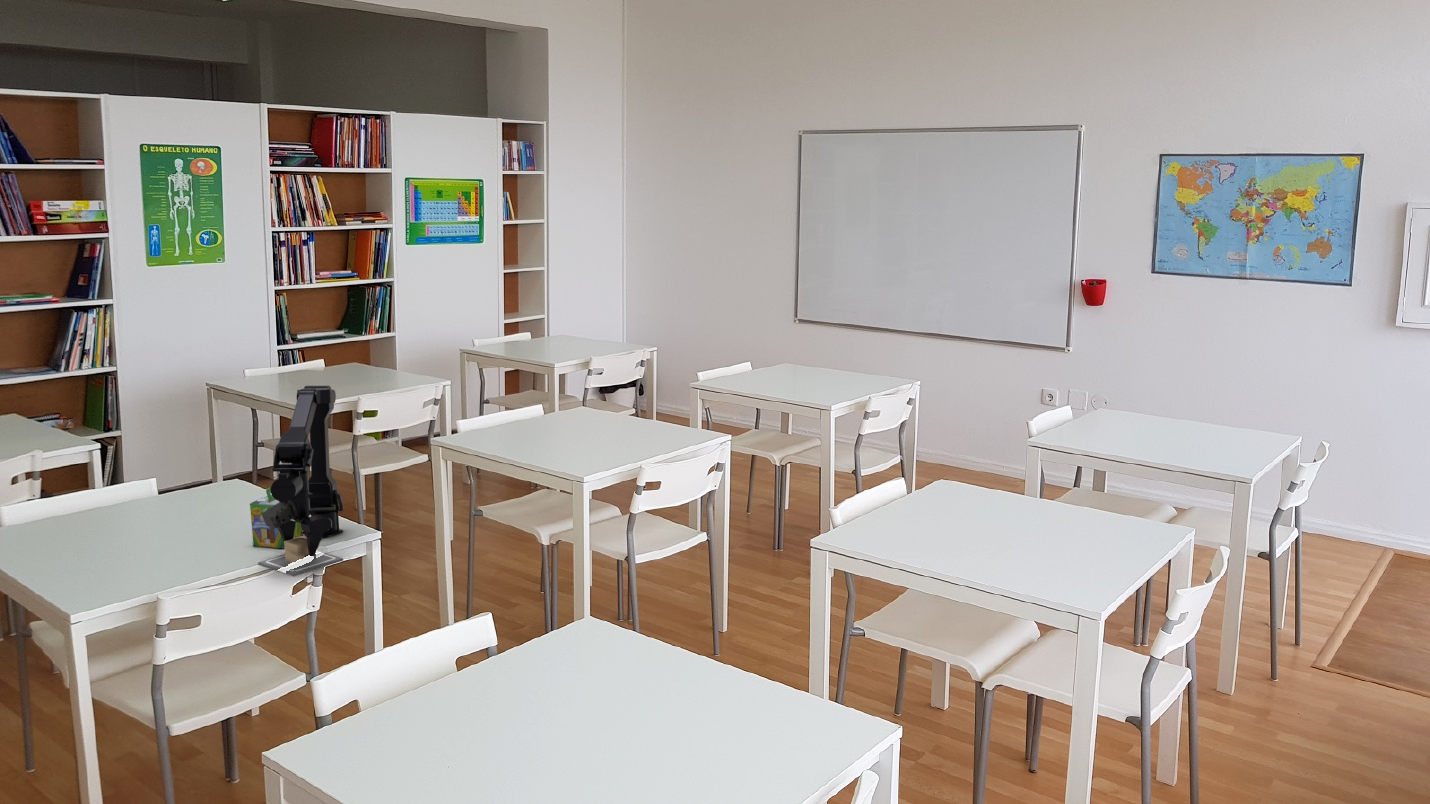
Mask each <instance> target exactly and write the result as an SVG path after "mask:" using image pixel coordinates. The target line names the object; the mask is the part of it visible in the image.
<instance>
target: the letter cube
mask: <svg viewBox="0 0 1430 804" xmlns="http://www.w3.org/2000/svg"><path fill="white" fill-rule="evenodd" d="M284 547H285V548H284V554H285V561H287V562H290V563H292V562H296V561H297V560H299V559H303V558H304V557H306V556H308V555H309V551H308V545H307V539H306V536H304V535H303V536H301V537H297V538H294V539H290V540H287V541H284ZM313 560H316V554H315V555H314V559H313Z"/></svg>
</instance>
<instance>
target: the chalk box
mask: <svg viewBox="0 0 1430 804" xmlns="http://www.w3.org/2000/svg"><path fill="white" fill-rule="evenodd" d="M265 492H266V496H263V497H261V498H259V499H257V500H254V501H252V502H250V503H249V507H250V519H251V520H250V521H251V532H252V533H251V534H252V546H253V547H261V548H262V547H263V548H274V549H283V550H284V549H285V547H284V541H283V539H282V537H281V534H280V532H279V530H278V528H273V527H271V526H266V523H265V521H264V519H263V517H262V513H263V512H265V511H266V510H267V509H268V508H271V507H272V506H274V505H276V504H278V503H279V501H277V500H276V499H274V497H273V496H272V494H271V487H268V488H266V489H265ZM302 531H303V530H302V528H301V523H299V522H296V525H295V531H294V537H293V539H294V538H297V537H301V536H303V537H304V534H302V533H301V532H302Z"/></svg>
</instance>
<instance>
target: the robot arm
mask: <svg viewBox="0 0 1430 804" xmlns="http://www.w3.org/2000/svg"><path fill="white" fill-rule="evenodd" d="M336 393H337V392H336V390H335V389H332V387H331V386H330V385H305V386H304V388H301V389H297V390H296V403H295V407H294V410H293V414H292V416H291V417H292V418H291V421H290V425H289V429H288V430H287V431H285V432H284V433H282V435H281V436H280V438H279V441H278V444H276V446H275V450H274V457H273V465H272V472H273V473H274V472H276V473H277V472H278V475H277V476H278V478H277V479H275V480H274V481H273V482H272V484H271V495H272V496H273V497H274V499H276V500H277V501H279V503H278V504H276V505H274V506H272V507H271V508H268V509H267V510H266V511H265V512H263V513H262V517H263V519H264V521H265V523H266V526H271V527H273V528H278V530H279V532H280V534H281V537H282V539H283V541H287V540H290V539H293V537H294V531H295V525H296V522H299V523H301V528H302V530H303V531H302V532H301V533H302V534H303V536H304V537H306V539H307V545H308V551H309V555H310V556H314V555H315V553H316V550H318V549H319V546H320V543H321V541H322V539H323V538H326V537H327V538H328V537H330V536H334V535H337V534H340V533H343V532H344V530H343V529H341V528H340V519H339V518H340V517H339V512H342V511H344V503H343V502H344V501H343V500H344V499H343V498H342V495H341V493H340V491H339V489H338V485H337V481H336V480H335V478H334V477H333V476H332V474H331V469H330V468H331V466H330V445H329V444H330V443H329V417H330V416H331V413H332V412H333V411H334V408H335V403H336V400H337V398H336V397H337V395H336ZM280 463H281V464H280ZM309 467H310V473H311V474H310V475H311V476H310V477H309V471H308V470H309Z"/></svg>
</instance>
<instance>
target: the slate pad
mask: <svg viewBox="0 0 1430 804" xmlns="http://www.w3.org/2000/svg"><path fill="white" fill-rule="evenodd" d="M343 561H344V558H343V557H340V556H337V555H333V554H331V553H327V552H325V553H324V554H323V555H322V556H320V557H318V558H316V560H312V561H311V562H309V563H306V564H304V565H302V566H299V567H297V568H294V569H290V570H289V571H286V574H285V575H287V576H290V577H291V576H292V577H296V576H298V575H302V574H305V573H308V572H311V571H314V570H318V569H322V568H324V567H328V566H330V565H335V564H336V563H337V564H338V563H341V562H343ZM257 564H258V566H262V567H265V568H267V569H270V570H273V571H276V570H278V569H280V568H281V567H286V566H288V564H290V562H287V561H285V553H284V554H282V555H279V556H275V557H271V558H268V559H265V560H261V561H259V562H257Z"/></svg>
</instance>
